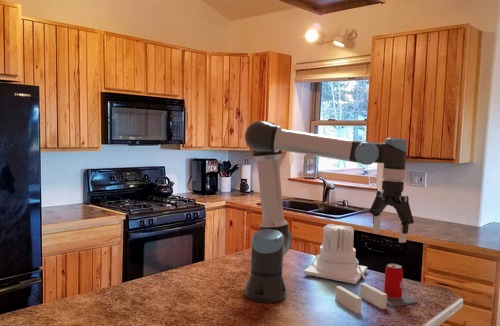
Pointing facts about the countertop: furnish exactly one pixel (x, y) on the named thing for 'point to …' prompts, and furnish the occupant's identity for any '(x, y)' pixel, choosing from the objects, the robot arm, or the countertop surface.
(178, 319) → the countertop surface
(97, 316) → the countertop surface
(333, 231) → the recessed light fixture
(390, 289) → the beverage can
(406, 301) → the mat
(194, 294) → the countertop surface
